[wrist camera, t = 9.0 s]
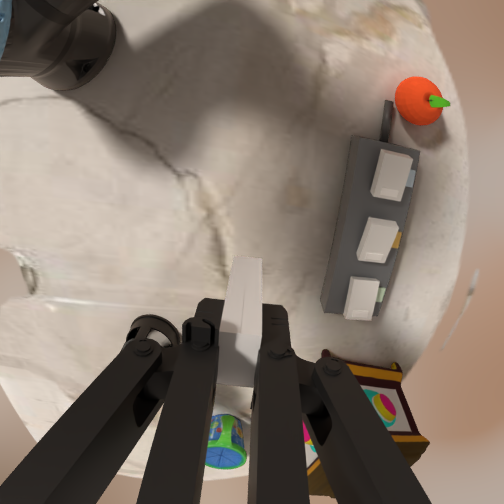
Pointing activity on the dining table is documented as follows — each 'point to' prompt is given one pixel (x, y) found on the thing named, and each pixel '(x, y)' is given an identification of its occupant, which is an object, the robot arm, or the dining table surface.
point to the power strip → (364, 219)
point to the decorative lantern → (390, 411)
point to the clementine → (419, 101)
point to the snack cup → (225, 443)
